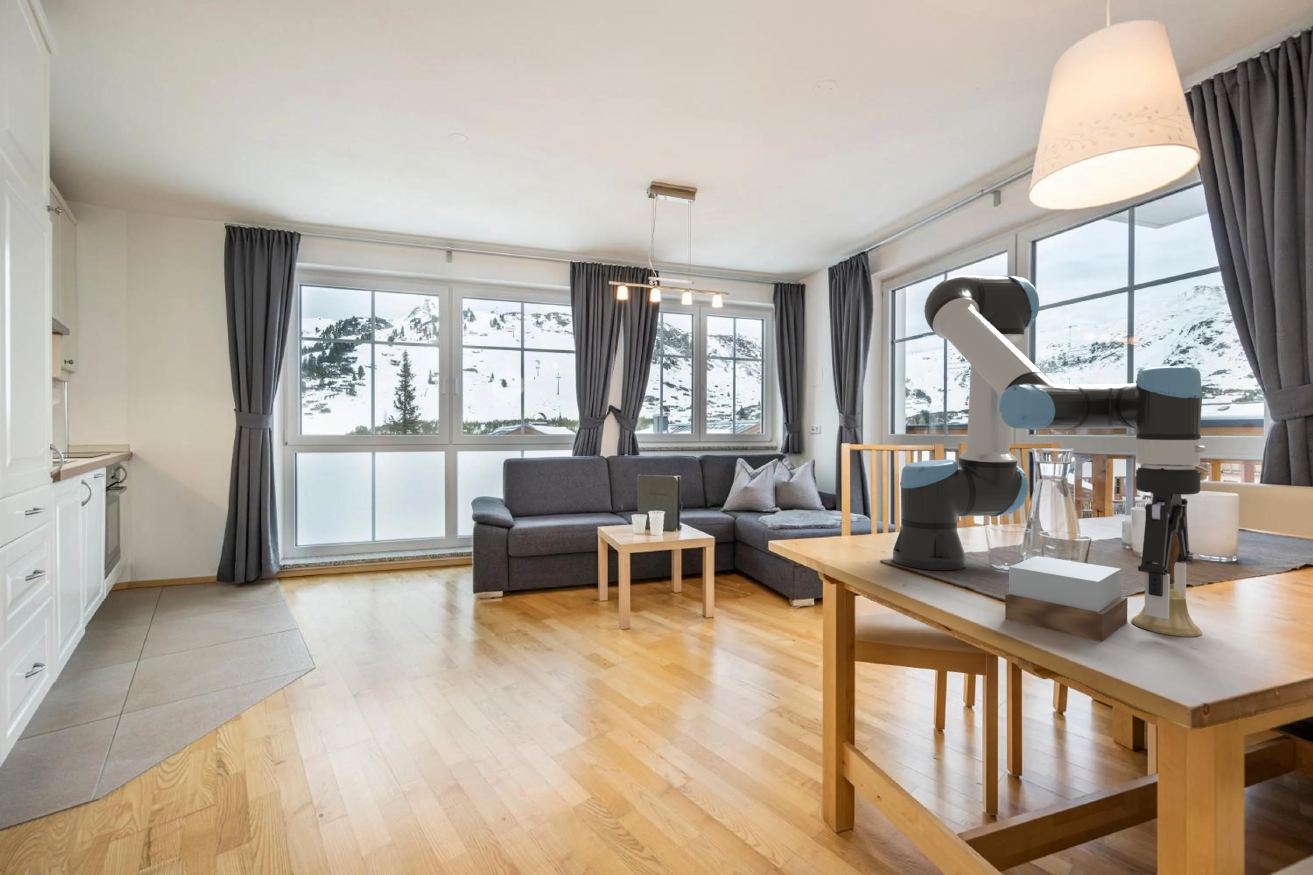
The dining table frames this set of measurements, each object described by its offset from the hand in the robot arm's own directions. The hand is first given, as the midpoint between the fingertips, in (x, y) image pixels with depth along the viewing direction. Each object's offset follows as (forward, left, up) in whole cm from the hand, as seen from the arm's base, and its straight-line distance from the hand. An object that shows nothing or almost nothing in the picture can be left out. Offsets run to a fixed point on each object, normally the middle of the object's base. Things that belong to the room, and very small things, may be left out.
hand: (1165, 608), depth 90 cm
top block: (-11, -8, +1) cm, 14 cm away
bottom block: (-11, -8, -3) cm, 14 cm away
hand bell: (0, 0, -3) cm, 3 cm away
